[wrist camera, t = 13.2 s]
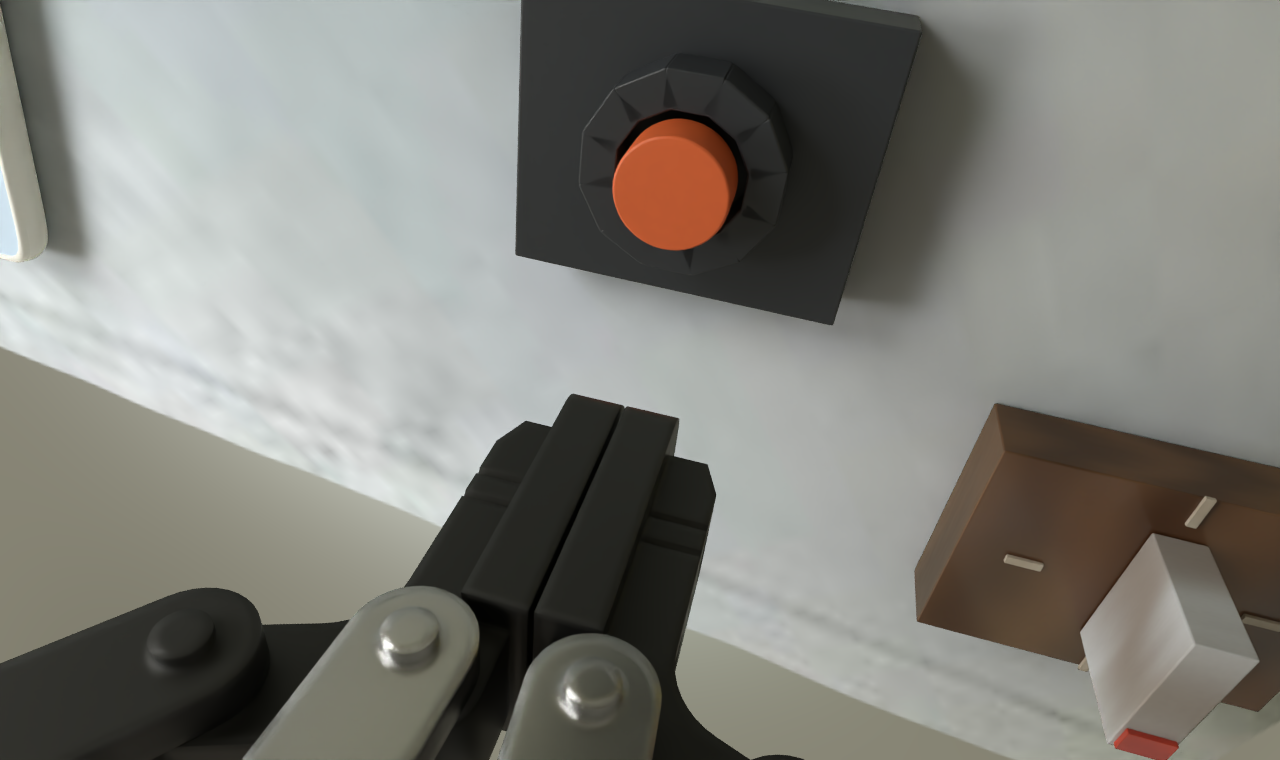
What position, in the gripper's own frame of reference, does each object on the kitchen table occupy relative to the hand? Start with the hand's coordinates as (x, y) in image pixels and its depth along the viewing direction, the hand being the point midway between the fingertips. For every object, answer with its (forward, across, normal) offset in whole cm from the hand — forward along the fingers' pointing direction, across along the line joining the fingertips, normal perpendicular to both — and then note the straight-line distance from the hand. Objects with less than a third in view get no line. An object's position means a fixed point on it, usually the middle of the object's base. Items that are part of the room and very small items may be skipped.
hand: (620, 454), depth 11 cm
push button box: (+20, +2, +2) cm, 20 cm away
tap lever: (+17, -18, +16) cm, 29 cm away
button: (+16, +2, +2) cm, 16 cm away
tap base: (+20, -18, +16) cm, 31 cm away
